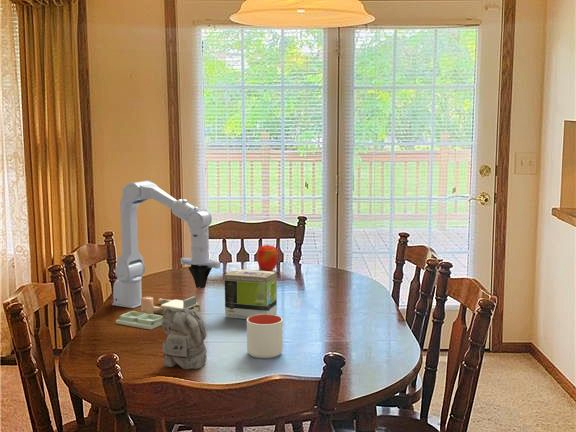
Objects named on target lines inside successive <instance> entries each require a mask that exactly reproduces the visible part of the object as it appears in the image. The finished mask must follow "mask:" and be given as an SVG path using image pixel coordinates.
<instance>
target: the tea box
mask: <svg viewBox="0 0 576 432" xmlns="http://www.w3.org/2000/svg"><path fill="white" fill-rule="evenodd" d="M277 295H278V292H277V271H274V270H272V271H263V270H255V269H242V268H241V269H240V268H235V269H233V270H232V271H229V272H228V273H226V274H224V310H225V312H224V313H225V314H224V315H225V318H231V319H242V320H243V319H244V320H247V318H249V317H251V316H254V315H260V314H270V315H276V316H277V311H278V310H277V309H278V307H277V305H278V304H277V303H278V302H277V301H278V300H277V299H278V298H277Z"/></svg>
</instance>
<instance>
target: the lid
mask: <svg viewBox="0 0 576 432" xmlns="http://www.w3.org/2000/svg"><path fill="white" fill-rule="evenodd" d="M171 300H172V301H170V302H167V303H165V304H162V305H161V304H160V307H162V308H166V307H167V308H174V309H180V310H181V309H186V308H187V309H188V308H190V307H193V306H195V305H198V304H199V302H197V296H195V295H193V296H191V297H188V298H185V299H184V300H183V299H182V300H181V299H171Z"/></svg>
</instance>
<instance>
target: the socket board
mask: <svg viewBox="0 0 576 432" xmlns="http://www.w3.org/2000/svg"><path fill="white" fill-rule="evenodd" d="M162 316H163V315H161V314H156V313H155V314H148V313H143V312H141V311H135V310H131V311H128V312H126V313H123V314H121V315H119V317H118V319H116V320H115V324H118V325H122V326H123V325H124V326H129V327H135V328H140V329H147V330H150V331H151V330H153V329H156V328H157V327H160V326H162Z"/></svg>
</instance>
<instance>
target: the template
mask: <svg viewBox="0 0 576 432" xmlns="http://www.w3.org/2000/svg"><path fill="white" fill-rule="evenodd" d="M172 300H173V299H166V298H158V305H160V306H155V305H153V309H154V313H155V314H160V315H161V314H162V315H163V313H164V310H165V309H167V307H161V305H162V304H165V303H167V302H170V301H172ZM171 309H174V308H171ZM188 309H189V310H191V311H193V310H196V311H197V312H199V311H200V310H201V304H199V303H198V305H195V306H193V307H190V308H188ZM176 310H180V309H176Z"/></svg>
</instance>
